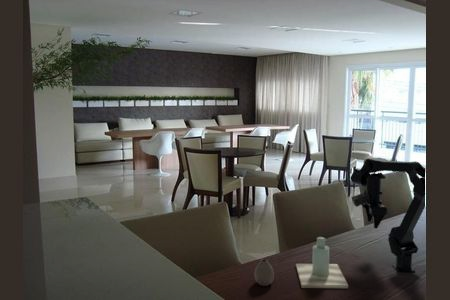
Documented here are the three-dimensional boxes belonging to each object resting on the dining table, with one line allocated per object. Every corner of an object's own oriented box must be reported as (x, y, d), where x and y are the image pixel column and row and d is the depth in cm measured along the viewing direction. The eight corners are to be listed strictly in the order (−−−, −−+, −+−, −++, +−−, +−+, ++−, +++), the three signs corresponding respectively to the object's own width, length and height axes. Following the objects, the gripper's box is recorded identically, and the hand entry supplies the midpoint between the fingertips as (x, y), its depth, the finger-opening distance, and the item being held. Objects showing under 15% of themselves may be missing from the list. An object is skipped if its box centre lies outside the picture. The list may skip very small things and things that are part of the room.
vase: (277, 283, 145) (277, 259, 144) (266, 289, 140) (265, 265, 139) (262, 277, 149) (262, 255, 148) (250, 284, 144) (250, 260, 143)
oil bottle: (332, 274, 147) (332, 239, 146) (319, 278, 145) (320, 242, 143) (321, 269, 153) (322, 234, 151) (309, 272, 150) (309, 237, 149)
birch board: (348, 288, 140) (348, 285, 139) (301, 287, 141) (301, 284, 140) (337, 266, 157) (337, 264, 157) (296, 266, 158) (296, 263, 158)
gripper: (348, 183, 175) (347, 218, 177) (359, 193, 157) (358, 232, 159) (374, 183, 175) (373, 218, 176) (388, 193, 156) (387, 232, 158)
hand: (372, 224), depth 167 cm, fingers open, 9 cm apart
